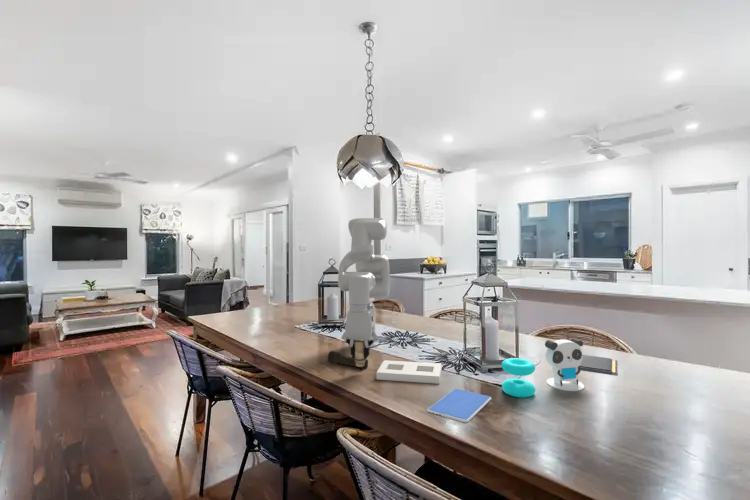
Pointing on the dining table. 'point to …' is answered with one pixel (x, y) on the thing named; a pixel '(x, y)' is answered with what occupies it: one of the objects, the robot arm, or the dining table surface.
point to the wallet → (599, 365)
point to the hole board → (409, 371)
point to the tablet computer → (460, 405)
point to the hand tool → (344, 360)
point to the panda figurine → (565, 364)
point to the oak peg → (359, 353)
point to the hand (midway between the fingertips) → (360, 356)
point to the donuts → (518, 385)
